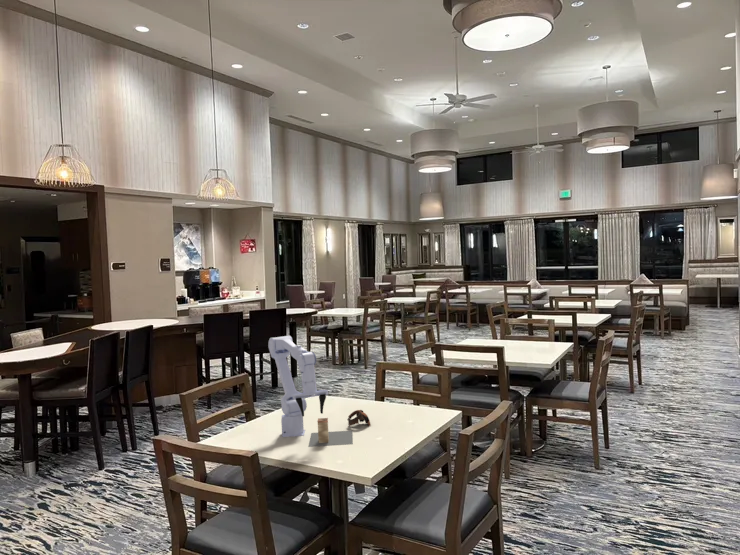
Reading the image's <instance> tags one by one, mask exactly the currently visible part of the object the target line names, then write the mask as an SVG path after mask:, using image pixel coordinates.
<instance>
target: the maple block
mask: <svg viewBox="0 0 740 555" xmlns="http://www.w3.org/2000/svg"><path fill="white" fill-rule="evenodd" d="M316 422H317V433H318V439H319V443H326V442H329V433H328V432H329V418H328V417H320V418H317V421H316Z"/></svg>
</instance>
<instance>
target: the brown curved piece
mask: <svg viewBox="0 0 740 555" xmlns="http://www.w3.org/2000/svg"><path fill="white" fill-rule="evenodd" d="M354 416H356V417H354ZM347 421H348V422H347V424H348V426H349V427H350V426H354V425H356V424H357V425H359V424H360V423H361V422H362V423H363V422H365V424H366V423H367V424H366V425H367V426H369V427H371V426H372V424H371V420H370V418H369V416H368V414H366V413H365V412H364V410H363V409H357V410H354V411H352V412H351V413H350V414H349V415H348V418H347Z"/></svg>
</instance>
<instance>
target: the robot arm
mask: <svg viewBox="0 0 740 555" xmlns="http://www.w3.org/2000/svg"><path fill="white" fill-rule="evenodd" d="M293 341H294V340H293V337H292V336H291V335H289V334H288V335H284V336H283V335H282V336H277V337H276V336H275V337H270V338H269V340H268V345H267V346H268V347H267V348H268V351H269V353H270V357H271V358H272V359H274V360H275V364H276V368H277V371H278V374H279V379H280V381H281V385H282V387H283V391H284V395H283V396H282V397H281V399H280V404H281V411H282V413H283V414H281V422H280V423H281V437H282V438H286V437H287V438H288V437H290V438H291V437H302V436H303V437H304V436H305V432H306V429H305V428H304V417H305V412H306V410H307V406H308V405H307V400H306V399H305V398H313V397H318V398H319V399H318V400H319V409H320V410H319V411H320V414H321V415H322V414H324V406H325V401H326V399H327V396H328V395H329V390H328V389H319V390H318V387H317V378H316V370H315V365H316V364H317V356H316V354H315V351H314V350H313V351H308V350H306V349H305V348H303V347H302V345H301V344H295V343H294V342H293ZM288 356H291V357H292V358H293V359H295V360H296V361H297V365H298V369H299V371H300V373H301V374H300V375H301V385H302V392H300V391H298V390H297V389H296V386H295V383H294V378H293V377H292V376H293V375H292V373H291V369H290V366H289V363H288V359H287V357H288Z"/></svg>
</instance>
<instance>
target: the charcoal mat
mask: <svg viewBox="0 0 740 555" xmlns="http://www.w3.org/2000/svg"><path fill="white" fill-rule="evenodd" d="M328 433H329V442H326V443H319V439H318V432H311V434H310V437H309V443H308V446H307V447H308V448H313V447H330V446H344V445H348V446H349V445H353V439H354V438H353V436H354V435H353V430H340V431H339V430H337V431H328Z"/></svg>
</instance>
